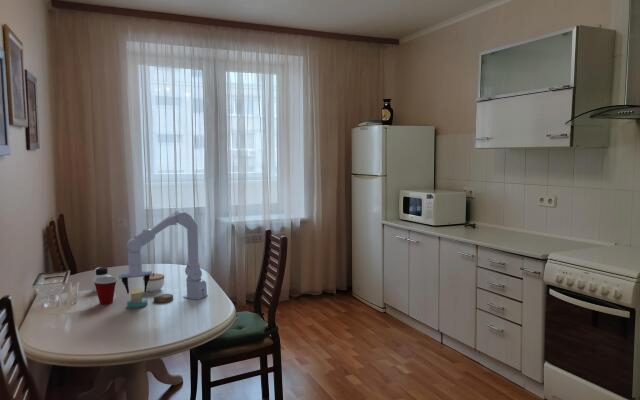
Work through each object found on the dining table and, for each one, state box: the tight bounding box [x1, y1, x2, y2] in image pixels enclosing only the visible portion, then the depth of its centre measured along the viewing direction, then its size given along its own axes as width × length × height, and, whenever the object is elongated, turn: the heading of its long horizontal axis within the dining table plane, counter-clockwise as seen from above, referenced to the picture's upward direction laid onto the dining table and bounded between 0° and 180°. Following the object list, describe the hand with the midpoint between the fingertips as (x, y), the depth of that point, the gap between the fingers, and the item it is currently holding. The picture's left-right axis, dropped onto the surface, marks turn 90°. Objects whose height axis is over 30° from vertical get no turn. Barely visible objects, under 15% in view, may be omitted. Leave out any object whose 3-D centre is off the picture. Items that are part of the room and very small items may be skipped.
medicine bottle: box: [91, 266, 112, 292], centre depth 252 cm, size 7×7×12 cm
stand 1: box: [126, 297, 148, 310], centre depth 225 cm, size 9×9×2 cm
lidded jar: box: [142, 272, 165, 293], centre depth 249 cm, size 11×11×9 cm
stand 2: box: [153, 293, 174, 304], centre depth 233 cm, size 9×9×2 cm
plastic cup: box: [93, 276, 118, 306], centre depth 229 cm, size 11×11×12 cm
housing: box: [130, 288, 143, 304], centre depth 225 cm, size 7×4×5 cm, turn 19°
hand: (136, 292), depth 225 cm, fingers open, 7 cm apart
